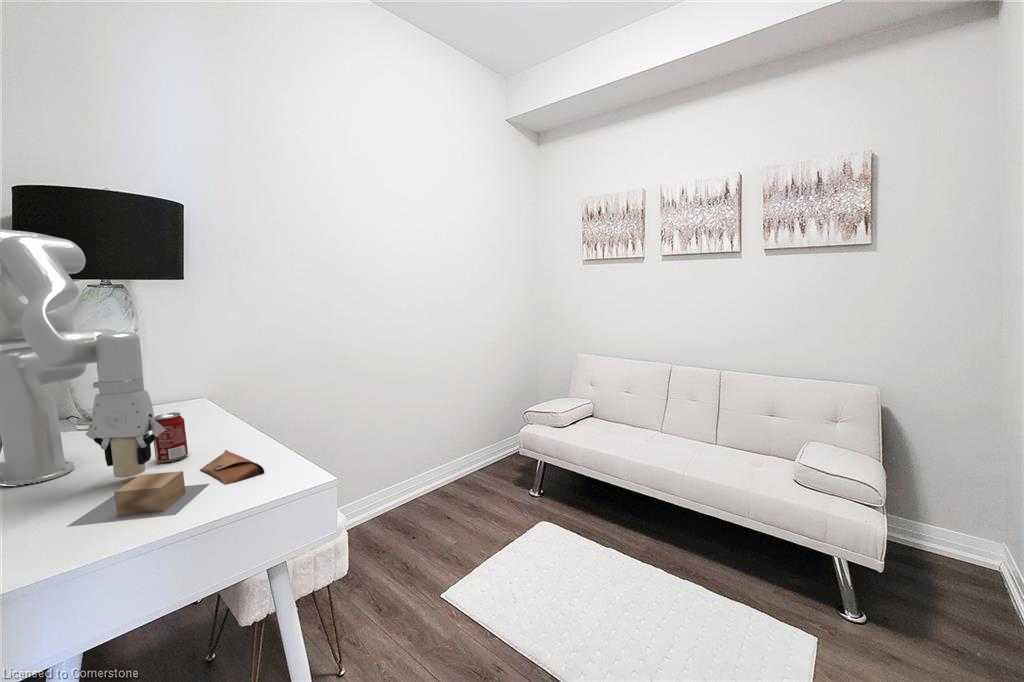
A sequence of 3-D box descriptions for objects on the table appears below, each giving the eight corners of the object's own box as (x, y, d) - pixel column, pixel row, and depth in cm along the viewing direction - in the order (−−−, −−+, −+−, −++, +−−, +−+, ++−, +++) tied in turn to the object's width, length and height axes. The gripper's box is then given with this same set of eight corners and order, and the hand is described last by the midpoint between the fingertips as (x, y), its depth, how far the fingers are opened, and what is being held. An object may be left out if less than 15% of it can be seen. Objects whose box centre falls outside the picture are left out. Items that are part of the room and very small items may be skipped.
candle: (126, 479, 97) (122, 436, 96) (107, 476, 98) (103, 434, 97) (151, 469, 103) (148, 428, 101) (132, 466, 104) (129, 426, 102)
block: (117, 516, 84) (114, 491, 84) (143, 497, 92) (140, 474, 91) (164, 511, 86) (161, 487, 85) (185, 493, 94) (183, 470, 93)
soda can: (190, 458, 115) (185, 414, 114) (158, 466, 110) (152, 420, 109) (185, 452, 120) (180, 410, 118) (154, 459, 115) (148, 415, 113)
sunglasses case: (192, 471, 106) (206, 445, 108) (221, 476, 112) (233, 451, 114) (226, 489, 96) (240, 459, 98) (256, 493, 102) (269, 465, 104)
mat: (67, 529, 81) (66, 526, 81) (118, 495, 95) (118, 492, 95) (175, 517, 84) (175, 514, 84) (210, 486, 98) (209, 483, 98)
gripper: (63, 391, 92) (72, 472, 95) (155, 389, 96) (162, 467, 98) (89, 383, 100) (97, 458, 102) (174, 382, 103) (180, 454, 105)
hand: (129, 462), depth 100 cm, fingers closed on candle, 5 cm apart
